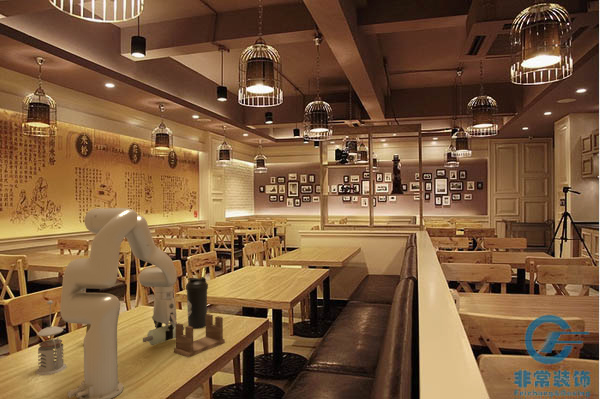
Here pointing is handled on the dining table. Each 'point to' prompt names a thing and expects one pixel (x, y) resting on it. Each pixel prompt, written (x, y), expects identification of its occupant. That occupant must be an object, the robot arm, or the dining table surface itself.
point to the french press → (50, 351)
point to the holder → (191, 347)
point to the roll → (158, 335)
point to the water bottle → (197, 302)
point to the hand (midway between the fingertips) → (164, 337)
